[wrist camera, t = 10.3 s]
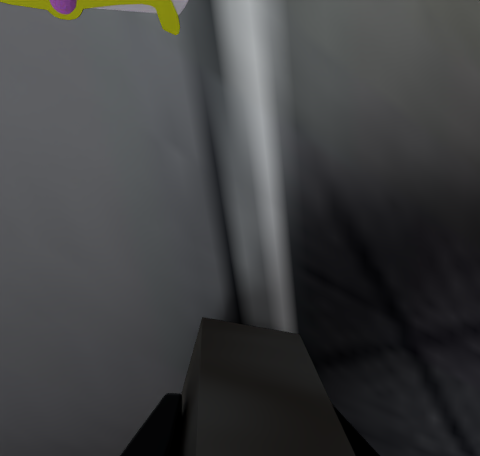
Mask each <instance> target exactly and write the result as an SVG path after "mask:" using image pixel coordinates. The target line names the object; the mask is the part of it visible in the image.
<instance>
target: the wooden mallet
mask: <svg viewBox="0 0 480 456" xmlns="http://www.w3.org/2000/svg"><path fill="white" fill-rule="evenodd" d="M181 395H182V420H181V427H180V434H179V441H178V449H177V456H355V454H354V451H353V449H352V447H351V445H350V443H349V441H348V438H347V436H346V434H345V432H344V430H343V428H342V425H341V423H340V421H339V419H338V417H337V415H336V412H335V410H334V408H333V406H332V404H331V401H330V399H329V397H328V395H327V393H326V391H325V388H324V386H323V384H322V382H321V380H320V378H319V375H318V373H317V371H316V369H315V367H314V365H313V362H312V360H311V358H310V356H309V354H308V352H307V349H306V347H305V345H304V343H303V341H302V339H301V336H300V334H294V333H289V332H283V331H277V330H271V329H266V328H260V327H254V326H249V325H243V324H237V323H232V322H226V321H220V320H215V319H209V318H203V317H202V320H201V324H200V328H199V331H198V335H197V339H196V342H195V346H194V350H193V354H192V357H191V361H190V365H189V368H188V372H187V376H186V379H185V383H184V387H183V390H182V394H181Z"/></svg>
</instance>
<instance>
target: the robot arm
mask: <svg viewBox="0 0 480 456" xmlns="http://www.w3.org/2000/svg"><path fill="white" fill-rule="evenodd" d="M331 404H332V403H331ZM332 406H333V405H332ZM333 408H334V410H335V412H336V415H337V417H338V419H339V421H340V423H341V425H342V428H343V430H344V432H345V434H346V436H347V438H348V441H349V443H350V445H351V447H352V449H353V451H354V454H355V456H380V455H379V454H378V453H377V452H376V451H375V450H374V449H373V448H372V447H371V446H370V445H369V443H368V442H367V441H366V440H365V439H364V438H363V437H362V436H361V435H360V434H359V433H358V432H357V430H356V429H355V428H354V427H353V426H352V425H351V424H350V423H349V422H348V421H347V420H346V419H345V418H344V416H343V415H342V414H341V413H340V412H339V411H338V410H337V409H336V408H335V407H334V406H333ZM181 420H182V395H181V394H178V393H167V394H166V395H165V396H164V397H163V398H162V400H161V401H160V402H159V404H158V405H157V407H156V408H155V409H154V411H153V412H152V413H151V415H150V416H149V417H148V419H147V420H146V421H145V423H144V424H143V425H142V427H141V428H140V430H139V431H138V432H137V434H136V435H135V436H134V438H133V439H132V440H131V442H130V443H129V444H128V446H127V447H126V448H125V450H124V451H123V453H122V454H121V455H120V456H177V449H178V441H179V434H180V427H181Z"/></svg>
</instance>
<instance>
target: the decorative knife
mask: <svg viewBox="0 0 480 456" xmlns="http://www.w3.org/2000/svg"><path fill="white" fill-rule="evenodd" d="M188 1H189V0H0V2H3V3H7V4H12V5H18V6H25V7H32V8H38V9H45V10H48V11H49V12H50V13H51V14H52V15H54V16H55V17H57V18H60V19H65V20H72V19H76V18H78V17H79V16H80V15H81V13H82V11H83V9H86V8H98V9H111V10H123V11H135V12H148V13H157V14H158V17H159V20H160V22H161V25H162V28H163V29H164V30H165V31H167V32H170V33H172V34H174V35H177V34H179V30H180V24H179V19H178V15H179V14H180V13H181V12H182V10H183V9H184V7H185V6H186V4H187V2H188Z"/></svg>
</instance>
